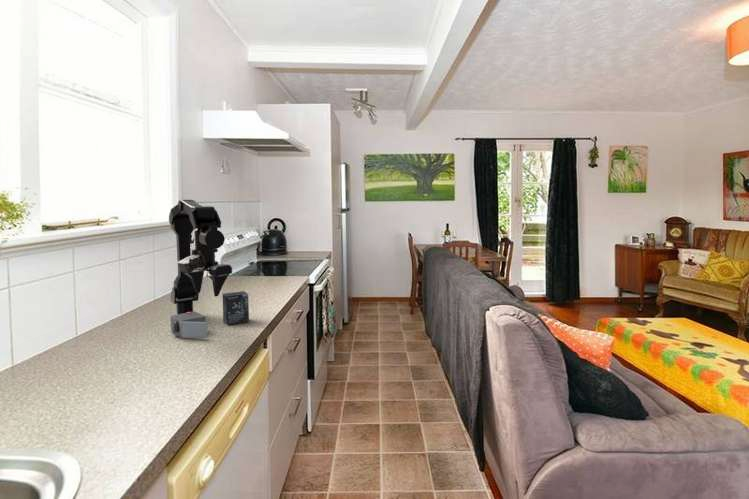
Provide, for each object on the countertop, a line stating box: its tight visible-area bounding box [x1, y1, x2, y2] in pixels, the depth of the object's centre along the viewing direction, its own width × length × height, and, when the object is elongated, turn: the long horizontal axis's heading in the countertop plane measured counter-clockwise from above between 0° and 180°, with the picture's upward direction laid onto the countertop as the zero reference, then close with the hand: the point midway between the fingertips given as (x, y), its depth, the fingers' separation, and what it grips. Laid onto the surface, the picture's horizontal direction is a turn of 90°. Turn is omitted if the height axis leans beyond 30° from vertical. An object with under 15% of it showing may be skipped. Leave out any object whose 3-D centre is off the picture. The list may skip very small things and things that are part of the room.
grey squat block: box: [169, 310, 207, 338], centre depth 142 cm, size 9×9×6 cm
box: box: [222, 290, 250, 326], centre depth 154 cm, size 8×6×11 cm
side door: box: [179, 321, 208, 339], centre depth 135 cm, size 1×9×5 cm, turn 84°
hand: (207, 294), depth 137 cm, fingers open, 9 cm apart
